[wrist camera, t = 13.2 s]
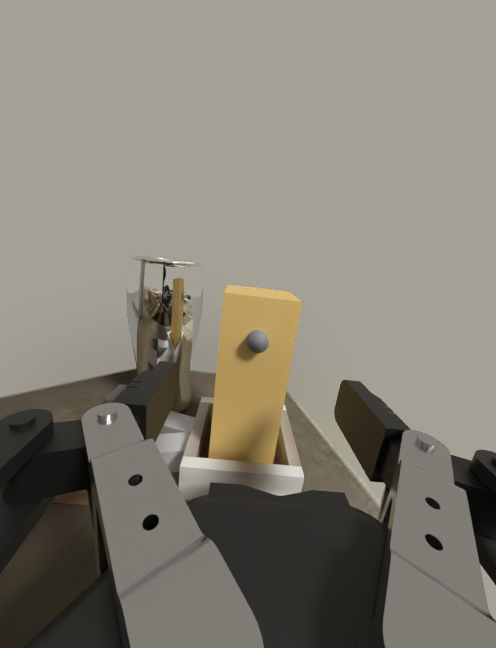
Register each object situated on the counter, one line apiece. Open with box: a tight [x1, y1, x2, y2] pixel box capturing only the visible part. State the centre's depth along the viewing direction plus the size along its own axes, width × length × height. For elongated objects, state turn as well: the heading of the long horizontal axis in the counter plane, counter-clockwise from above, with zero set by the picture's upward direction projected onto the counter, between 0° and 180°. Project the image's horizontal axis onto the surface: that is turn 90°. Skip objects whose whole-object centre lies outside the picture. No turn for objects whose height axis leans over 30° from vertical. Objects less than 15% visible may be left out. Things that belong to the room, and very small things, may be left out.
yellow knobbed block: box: [208, 284, 302, 464], centre depth 17 cm, size 4×6×13 cm
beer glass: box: [127, 255, 203, 413], centre depth 25 cm, size 7×7×15 cm
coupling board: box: [52, 384, 304, 506], centre depth 19 cm, size 16×8×4 cm, turn 91°
